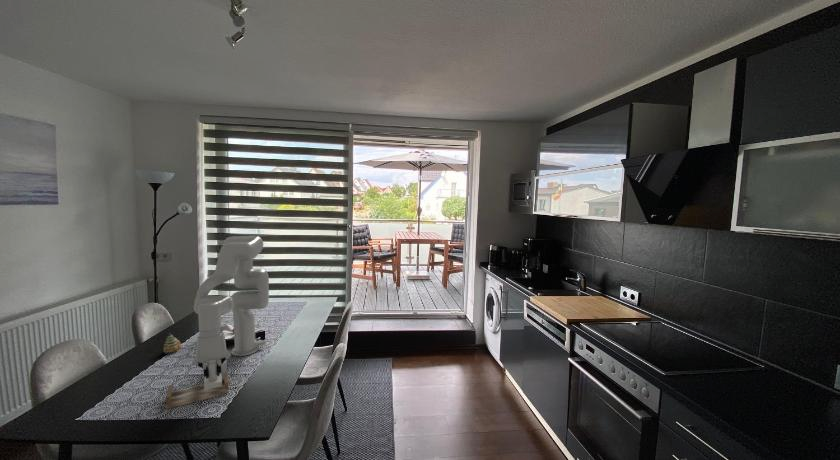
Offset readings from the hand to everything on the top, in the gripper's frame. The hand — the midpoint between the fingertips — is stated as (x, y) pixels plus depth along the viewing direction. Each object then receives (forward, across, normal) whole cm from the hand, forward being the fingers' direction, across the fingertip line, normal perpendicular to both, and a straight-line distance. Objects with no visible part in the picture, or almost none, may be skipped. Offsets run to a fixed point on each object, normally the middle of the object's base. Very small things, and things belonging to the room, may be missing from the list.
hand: (212, 375), depth 133 cm
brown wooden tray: (+7, +5, 0) cm, 8 cm away
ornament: (+7, +18, -54) cm, 57 cm away
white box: (+7, -1, -10) cm, 12 cm away
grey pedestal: (+4, 0, 0) cm, 4 cm away
